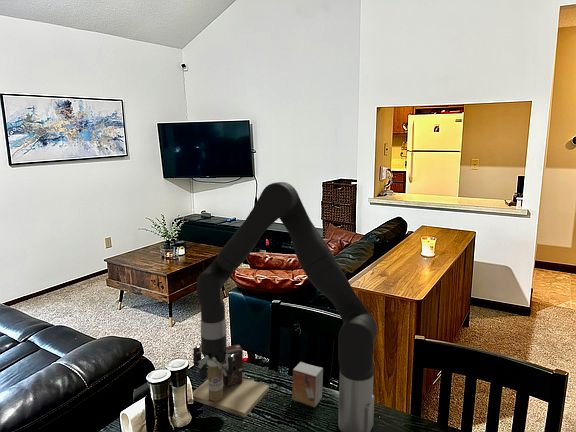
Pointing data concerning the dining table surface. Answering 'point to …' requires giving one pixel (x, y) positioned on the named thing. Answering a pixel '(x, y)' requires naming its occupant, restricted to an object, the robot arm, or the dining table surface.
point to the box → (237, 376)
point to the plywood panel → (234, 396)
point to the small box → (307, 384)
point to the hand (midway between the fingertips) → (215, 381)
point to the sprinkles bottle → (214, 381)
